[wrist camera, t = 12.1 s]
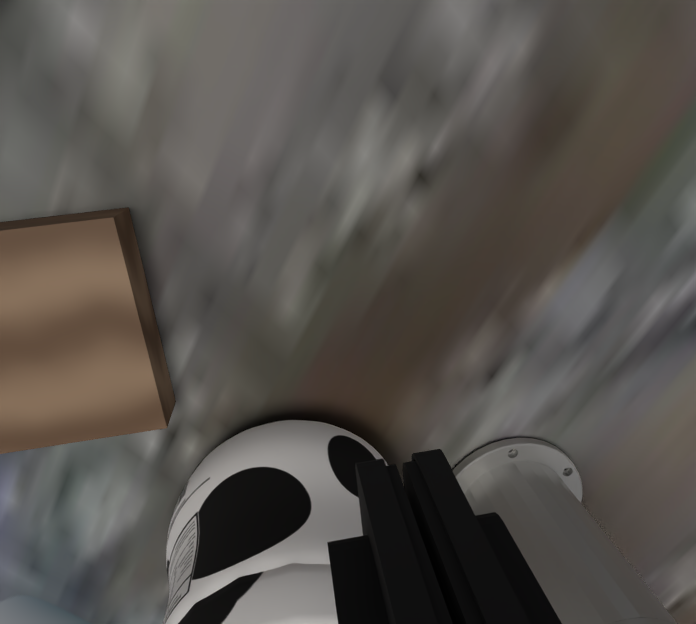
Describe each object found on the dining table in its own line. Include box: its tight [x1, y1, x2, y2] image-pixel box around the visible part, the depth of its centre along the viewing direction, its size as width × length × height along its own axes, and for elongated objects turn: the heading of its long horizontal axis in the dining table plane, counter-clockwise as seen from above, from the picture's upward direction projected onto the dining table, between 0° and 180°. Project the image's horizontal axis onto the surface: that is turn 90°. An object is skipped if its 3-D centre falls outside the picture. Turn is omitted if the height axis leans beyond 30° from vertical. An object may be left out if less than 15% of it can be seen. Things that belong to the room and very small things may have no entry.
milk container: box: [163, 420, 388, 624], centre depth 34 cm, size 17×17×18 cm
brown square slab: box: [0, 207, 176, 454], centre depth 34 cm, size 14×14×4 cm
